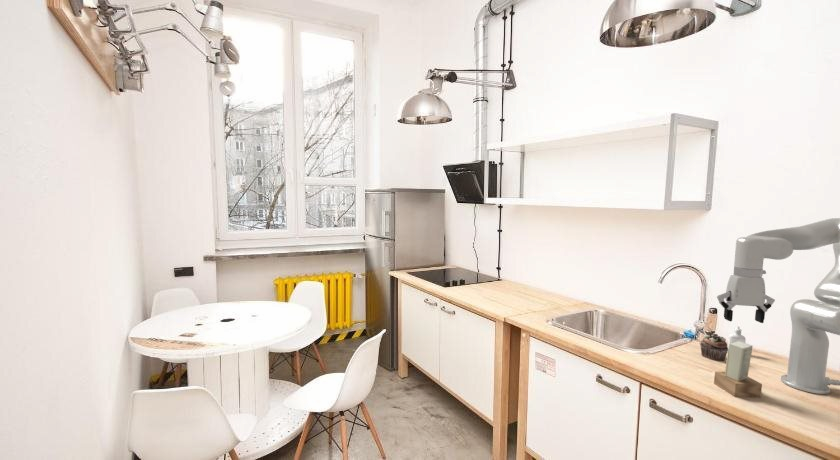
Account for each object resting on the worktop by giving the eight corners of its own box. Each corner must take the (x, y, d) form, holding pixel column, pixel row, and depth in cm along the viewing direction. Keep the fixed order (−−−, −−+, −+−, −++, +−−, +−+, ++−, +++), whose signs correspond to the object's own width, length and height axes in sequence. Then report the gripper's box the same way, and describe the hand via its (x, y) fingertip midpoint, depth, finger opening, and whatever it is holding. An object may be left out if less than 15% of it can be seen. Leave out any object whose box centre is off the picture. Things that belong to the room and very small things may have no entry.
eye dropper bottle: (742, 356, 164) (745, 329, 163) (726, 351, 168) (729, 325, 167) (744, 353, 167) (747, 327, 166) (728, 349, 171) (731, 323, 170)
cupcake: (733, 361, 158) (735, 338, 157) (713, 362, 156) (716, 339, 155) (711, 352, 167) (714, 330, 167) (693, 353, 166) (695, 330, 165)
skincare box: (733, 372, 136) (738, 340, 135) (748, 378, 132) (753, 345, 131) (723, 375, 133) (728, 342, 132) (738, 381, 129) (743, 348, 128)
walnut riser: (738, 385, 138) (739, 372, 137) (760, 398, 129) (762, 384, 128) (713, 384, 138) (715, 371, 137) (734, 397, 129) (735, 383, 128)
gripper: (767, 271, 134) (763, 319, 135) (713, 269, 136) (709, 316, 138) (784, 276, 126) (779, 326, 128) (726, 274, 129) (722, 322, 130)
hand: (743, 321), depth 133 cm, fingers open, 9 cm apart
